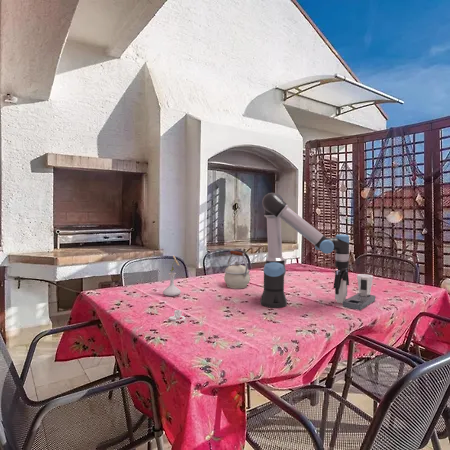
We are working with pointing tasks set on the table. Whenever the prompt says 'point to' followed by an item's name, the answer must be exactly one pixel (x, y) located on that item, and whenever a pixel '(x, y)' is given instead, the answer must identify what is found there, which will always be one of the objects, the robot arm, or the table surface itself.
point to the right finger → (342, 292)
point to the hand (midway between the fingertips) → (341, 297)
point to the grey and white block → (360, 296)
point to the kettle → (237, 273)
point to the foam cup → (360, 280)
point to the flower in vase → (172, 283)
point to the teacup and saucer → (176, 316)
